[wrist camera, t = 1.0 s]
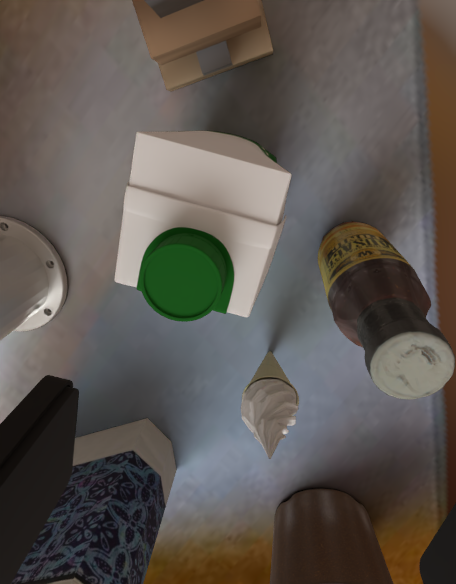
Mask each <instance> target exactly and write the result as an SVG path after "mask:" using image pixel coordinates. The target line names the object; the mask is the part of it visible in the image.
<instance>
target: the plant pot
mask: <svg viewBox="0 0 456 584" xmlns="http://www.w3.org/2000/svg"><path fill="white" fill-rule="evenodd" d="M270 584H393V581H392V579H391V576H390V573H389V571H388V568H387V565H386V563H385V560H384V557H383V554H382V552H381V549H380V546H379V543H378V541H377V538H376V535H375V532H374V530H373V527H372V524H371V521H370V518H369V515H368V512H367V511H366V509H365V507H364V506H363V505H362V504H359V503H358V502H356V501H355V500H354V499H353V498H352V497H351V496H350V495H349V494H346V493H344V492H341V491H337V490H332V489H310V490H305V491H301V492H298V493H296V494H293V495H292V497H291V498H290V499H289V500H288V501H287V502H283V503H281V504H280V506H279V507H278V509H277V511H276V514H275V518H274V533H273V550H272V564H271V577H270Z"/></svg>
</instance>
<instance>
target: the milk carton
mask: <svg viewBox="0 0 456 584" xmlns="http://www.w3.org/2000/svg"><path fill="white" fill-rule="evenodd" d="M290 180H291V173H289V172H288V171H286V170H285V169H284V168H282V167H281V166H279V165H278V164H277V161H276V157H274V156H273V155H272V154H271V153H269V152H268V151H267V150H266V149H264V148H263V147H262V146H261V145H259V144H258V143H256V142H254V141H252V140H249V139H246V138H244V137H241V136H237V135H233V134H229V133H223V132H216V131H178V132H137V133H136V140H135V146H134V153H133V160H132V167H131V174H130V181H129V182H128V183H127V186H126V191H125V197H124V205H123V208H124V211H123V218H122V226H121V233H120V241H119V248H118V256H117V264H116V271H115V281H116V282H117V283H121V284H124V285H129V286H133V287H137V290H139V291H142V293H143V296H144V298H145V299H146V301H147V302H148V304H149V305H150V306H151V307H152V308H153V309H154V310H155V311H156V312H157V313H159V314H160V315H162V316H164V317H166V318H168V319H171V320H175V321H193V320H197V319H200V318H202V317H204V316H206V315H207V314H209V313H210V312H211V311H212V310H214V311H217V312H221V313H224V314H226V312H229V313H233V314H236V315H239V316H243V317H249V315H250V313H251V310H252V308H253V305H254V303H255V301H256V299H257V296H258V294H259V292H260V290H261V287H262V285H263V283H264V280H265V278H266V275H267V273H268V270H269V267H270V264H271V262H272V259H273V256H274V253H275V250H276V247H277V244H278V241H279V238H280V236H281V233H282V229H283V226H284V223H285V220H286V215H285V217H284V220H283V221H282V218H283V214H284V208H285V202H286V197H287V193H288V189H289V184H290Z"/></svg>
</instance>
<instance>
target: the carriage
mask: <svg viewBox="0 0 456 584" xmlns="http://www.w3.org/2000/svg"><path fill="white" fill-rule="evenodd" d="M132 1H133V4H134V7H135V10H136V13H137V16H138V20H139V23H140V26H141V29H142V32H143V35H144V38H145V41H146V44H147V47H148V50H149V53H150V56H151V58H152V59H153V60H155V61H156V62H158V63H159V64H161V65H164V64H166V63H169V62H171V61H174V60H176V59H179V58H182V57H184V56H187V55H189V54H192V53H195V52H197V51H200V50H202V49H205V48H208V47H210V46H213V45H215V44H218V43H220V42H223V41H226V40H228V39H231V38H233V37H236V36H239V35H241V34H244V33H246V32H249V31H252V30H254V29H257V28H259V27H261V14H260V10H259V5H258V1H257V0H132Z"/></svg>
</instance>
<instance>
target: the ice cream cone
mask: <svg viewBox="0 0 456 584" xmlns="http://www.w3.org/2000/svg"><path fill="white" fill-rule="evenodd" d="M298 404H299V397H298V393H297V391H296V389H295V388H294V387H293V385H292V384H291V383H290V382H289V380H288V378H287V377H286V375H285V373H284V372H283V370H282V368H281V367H280V365H279V364H278V362H277V360H276V359H275V357H274V355H273V354H272V352H270V351H269V352H268V353H267V355H266V356H265V358H264V360H263V361H262V363H261V365H260V366H259V368H258V370H257V372H256V373H255V375H254V377H253V378H252V380H251V382H250V383H249V384H248V385H247V386H246V388H245V389H244V392H243V395H242V404H241V413H242V419H243V421H244V422H245V424H246V425H247V426H248V428H249V429H250V431H251V432H253V433H254V437H255V438H256V439H257V440H258V441H259V442H260V443H261V444H262V446H263V448H264V449H265V451H266V453H267V455H268V457H269V459H271V456H272V455H273V453H274V451H275V449H276V447H277V445H278V443H279V441H280V440H281V439H284V438H285V437H286V436H285V435H283V434H287V433H288V432H289V431H288V429H287V425H292V426H293V425H294V424H295V420H296V416H292V415H294V414H296V412H297V410H298Z"/></svg>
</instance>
